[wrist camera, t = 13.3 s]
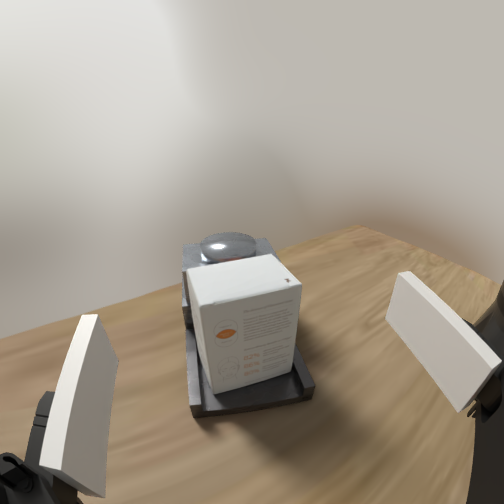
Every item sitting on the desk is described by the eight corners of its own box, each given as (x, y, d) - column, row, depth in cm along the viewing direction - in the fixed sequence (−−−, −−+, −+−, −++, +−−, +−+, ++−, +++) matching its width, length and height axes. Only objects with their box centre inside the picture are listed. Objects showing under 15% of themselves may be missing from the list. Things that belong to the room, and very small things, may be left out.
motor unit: (267, 297, 39) (269, 227, 35) (311, 399, 24) (331, 317, 19) (187, 305, 37) (178, 234, 33) (193, 417, 22) (171, 338, 17)
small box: (269, 338, 30) (273, 251, 26) (292, 373, 26) (305, 282, 21) (197, 355, 28) (184, 266, 23) (212, 396, 23) (198, 305, 18)
